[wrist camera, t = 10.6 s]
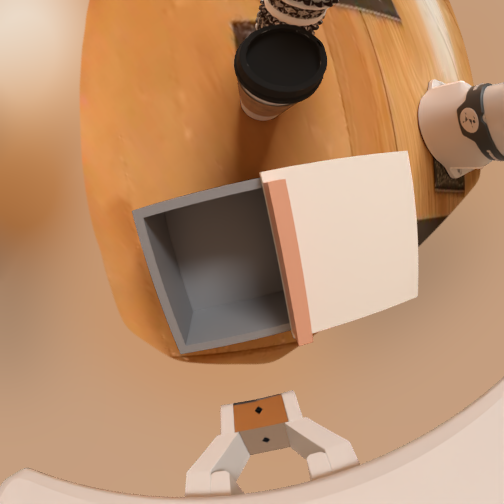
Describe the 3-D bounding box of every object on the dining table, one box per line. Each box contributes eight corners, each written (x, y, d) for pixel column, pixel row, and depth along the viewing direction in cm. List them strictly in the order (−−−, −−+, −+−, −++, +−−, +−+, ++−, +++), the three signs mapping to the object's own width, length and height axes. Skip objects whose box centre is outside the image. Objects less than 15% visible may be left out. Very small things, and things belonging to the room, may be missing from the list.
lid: (402, 151, 26) (423, 149, 22) (413, 293, 31) (431, 305, 27) (259, 172, 25) (265, 170, 21) (291, 334, 30) (300, 353, 26)
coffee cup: (303, 115, 34) (348, 79, 19) (249, 139, 34) (265, 110, 19) (274, 67, 31) (301, 10, 17) (219, 89, 32) (217, 36, 17)
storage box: (271, 175, 35) (288, 172, 26) (294, 291, 40) (314, 323, 30) (156, 203, 35) (131, 210, 25) (189, 315, 39) (180, 354, 29)
